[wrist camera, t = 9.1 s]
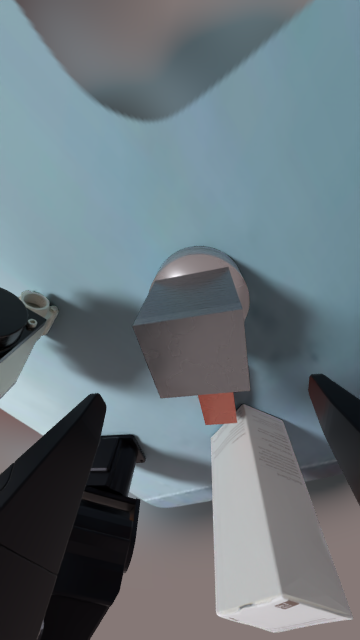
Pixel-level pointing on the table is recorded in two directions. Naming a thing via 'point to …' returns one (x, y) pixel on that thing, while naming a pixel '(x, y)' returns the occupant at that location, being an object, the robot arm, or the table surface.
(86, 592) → the robot arm
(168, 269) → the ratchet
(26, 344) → the pneumatic valve
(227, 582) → the skincare box
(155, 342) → the brushed metal block
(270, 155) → the table surface
